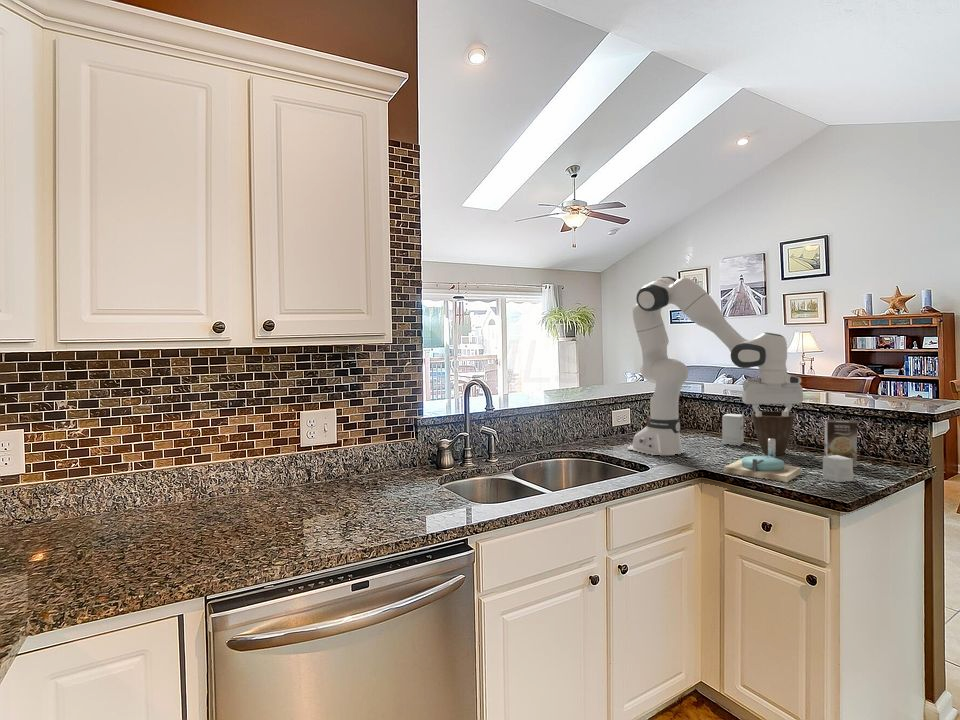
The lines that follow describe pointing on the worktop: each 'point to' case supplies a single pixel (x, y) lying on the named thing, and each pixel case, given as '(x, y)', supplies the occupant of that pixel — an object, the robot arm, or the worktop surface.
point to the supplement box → (732, 429)
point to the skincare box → (838, 468)
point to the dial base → (778, 475)
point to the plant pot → (773, 430)
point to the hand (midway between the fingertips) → (771, 416)
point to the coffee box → (841, 439)
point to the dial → (765, 459)
